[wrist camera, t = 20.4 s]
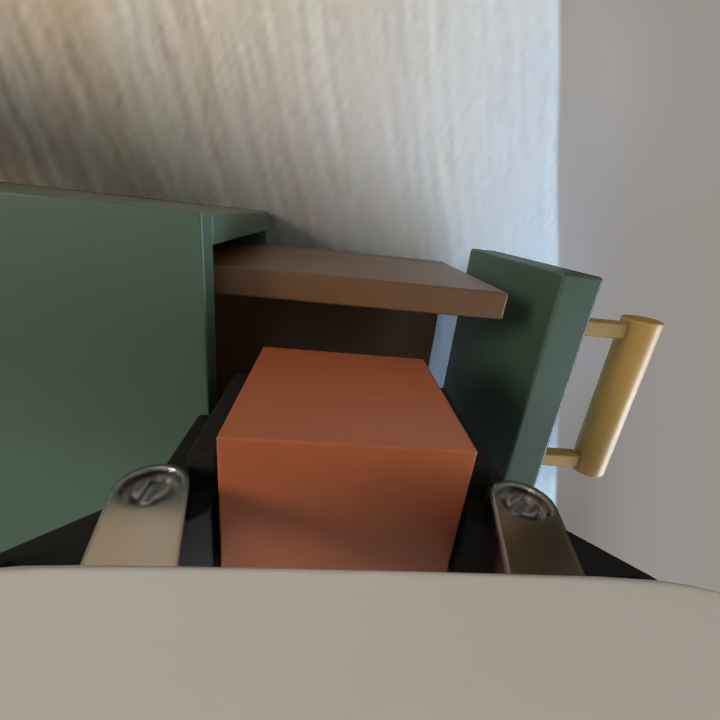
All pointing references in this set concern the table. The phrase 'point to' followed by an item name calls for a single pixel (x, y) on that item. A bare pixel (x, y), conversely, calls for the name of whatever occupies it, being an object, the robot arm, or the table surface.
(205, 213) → the cabinet
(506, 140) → the table surface
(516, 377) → the drawer
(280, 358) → the block
